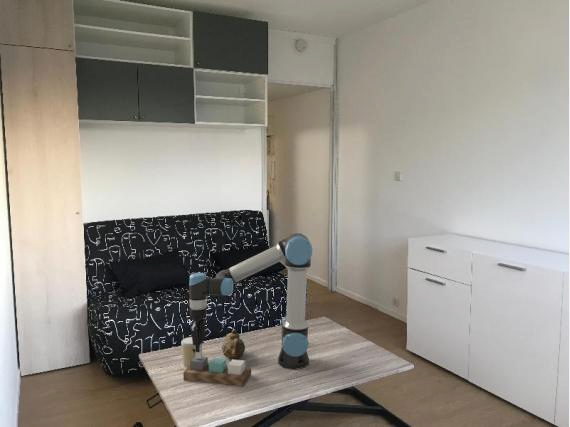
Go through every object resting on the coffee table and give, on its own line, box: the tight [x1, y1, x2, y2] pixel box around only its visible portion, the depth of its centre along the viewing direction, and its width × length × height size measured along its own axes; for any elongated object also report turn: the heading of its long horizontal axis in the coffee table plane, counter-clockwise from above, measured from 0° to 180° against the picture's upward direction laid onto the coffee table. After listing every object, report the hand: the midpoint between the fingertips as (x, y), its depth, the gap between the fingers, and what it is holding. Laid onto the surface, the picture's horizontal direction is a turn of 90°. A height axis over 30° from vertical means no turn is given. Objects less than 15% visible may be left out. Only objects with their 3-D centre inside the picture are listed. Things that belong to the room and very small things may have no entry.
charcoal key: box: [190, 355, 209, 371], centre depth 215 cm, size 6×6×5 cm
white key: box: [228, 359, 246, 375], centre depth 211 cm, size 6×6×5 cm
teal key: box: [208, 357, 227, 373], centre depth 213 cm, size 6×6×5 cm
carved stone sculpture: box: [221, 328, 246, 360], centre depth 234 cm, size 21×12×15 cm, turn 18°
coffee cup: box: [180, 336, 195, 368], centre depth 228 cm, size 9×9×12 cm
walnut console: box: [183, 362, 252, 388], centre depth 213 cm, size 28×12×4 cm, turn 77°
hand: (198, 357), depth 215 cm, fingers closed
